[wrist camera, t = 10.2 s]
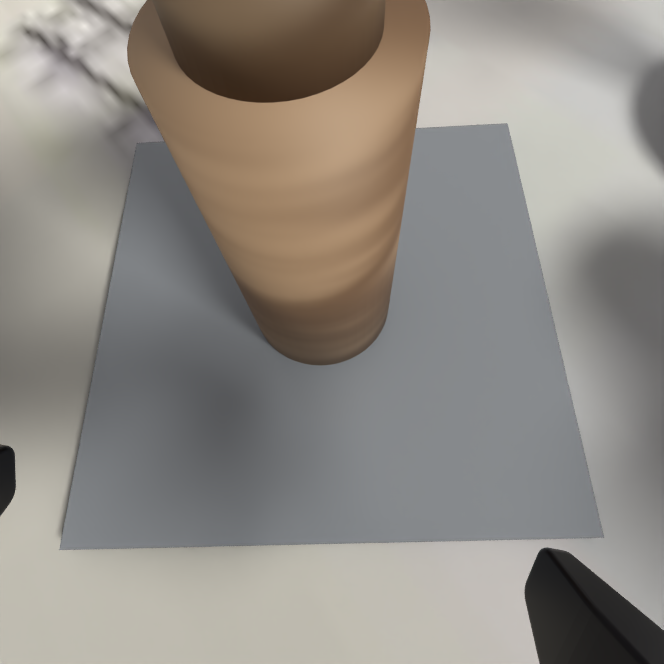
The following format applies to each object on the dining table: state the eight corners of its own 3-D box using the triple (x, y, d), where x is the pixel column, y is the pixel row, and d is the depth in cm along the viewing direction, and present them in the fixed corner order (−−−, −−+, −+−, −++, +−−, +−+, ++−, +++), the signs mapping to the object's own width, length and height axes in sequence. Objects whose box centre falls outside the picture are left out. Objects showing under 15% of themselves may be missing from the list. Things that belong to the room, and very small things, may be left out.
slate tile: (595, 536, 15) (603, 537, 14) (69, 548, 16) (59, 549, 15) (503, 133, 22) (507, 123, 21) (142, 152, 22) (136, 143, 22)
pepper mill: (348, 389, 17) (326, 56, 5) (230, 327, 18) (-29, -65, 6) (411, 277, 18) (514, -179, 6) (299, 227, 20) (208, -233, 8)
